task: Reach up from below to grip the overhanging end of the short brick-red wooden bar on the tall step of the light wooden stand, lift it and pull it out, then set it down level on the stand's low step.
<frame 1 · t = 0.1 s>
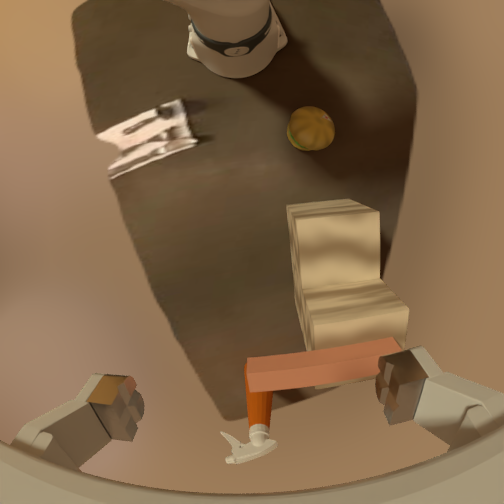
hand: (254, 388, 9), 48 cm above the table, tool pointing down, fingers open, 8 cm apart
stepped stand: (322, 253, 57), on the table
spray bottle: (251, 369, 66), on the table
hamburger: (304, 132, 51), on the table
bar: (323, 358, 34), point 26 cm above the table, touching stepped stand
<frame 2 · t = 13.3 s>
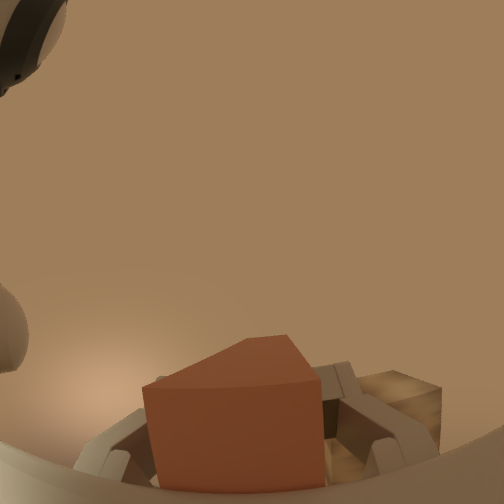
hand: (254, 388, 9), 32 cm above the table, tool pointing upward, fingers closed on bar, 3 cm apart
bar: (265, 407, 12), point 30 cm above the table, touching gripper
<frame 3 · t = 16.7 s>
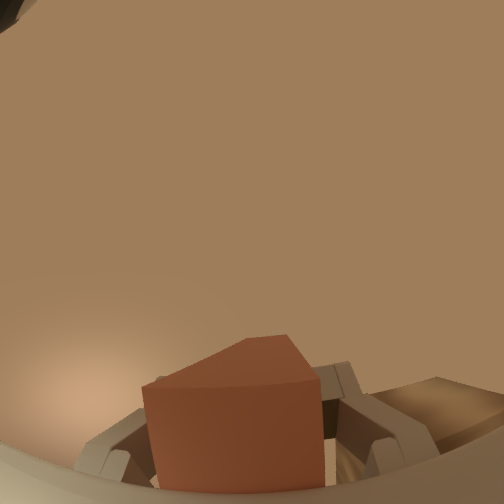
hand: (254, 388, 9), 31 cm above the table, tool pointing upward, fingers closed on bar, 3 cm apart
bar: (265, 407, 12), point 29 cm above the table, touching gripper
when the fingers open (18 cm above the table, at t = 19.8 s): bar stays where it is, resting on stepped stand.
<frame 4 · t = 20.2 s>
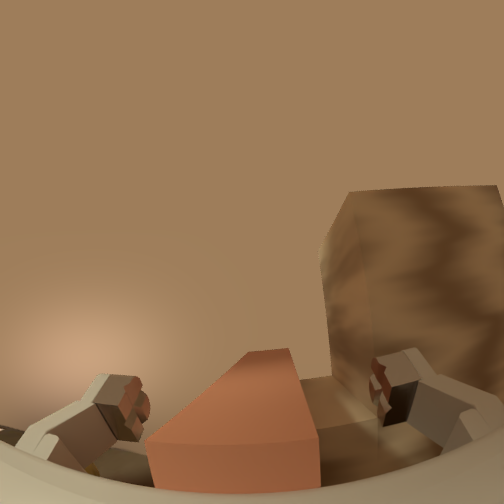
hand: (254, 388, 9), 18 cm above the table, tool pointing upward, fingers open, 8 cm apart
bar: (266, 427, 12), point 15 cm above the table, touching stepped stand
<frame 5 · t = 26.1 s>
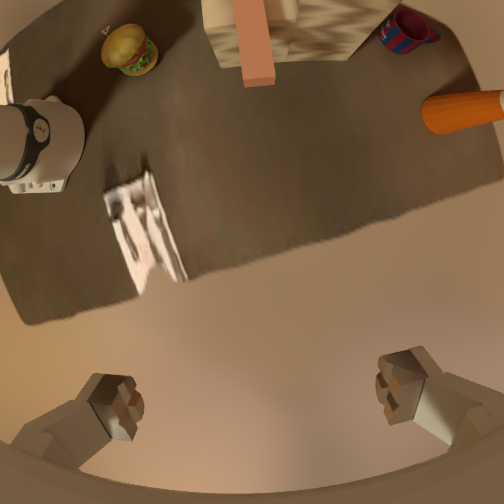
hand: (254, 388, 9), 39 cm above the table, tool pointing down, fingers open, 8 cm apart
stepped stand: (279, 30, 38), on the table
spray bottle: (438, 125, 41), on the table
mug: (403, 40, 37), on the table
hamburger: (141, 60, 40), on the table
bar: (249, 15, 25), point 15 cm above the table, touching stepped stand
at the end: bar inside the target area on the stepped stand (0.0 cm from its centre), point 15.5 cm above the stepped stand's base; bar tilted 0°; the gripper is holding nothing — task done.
